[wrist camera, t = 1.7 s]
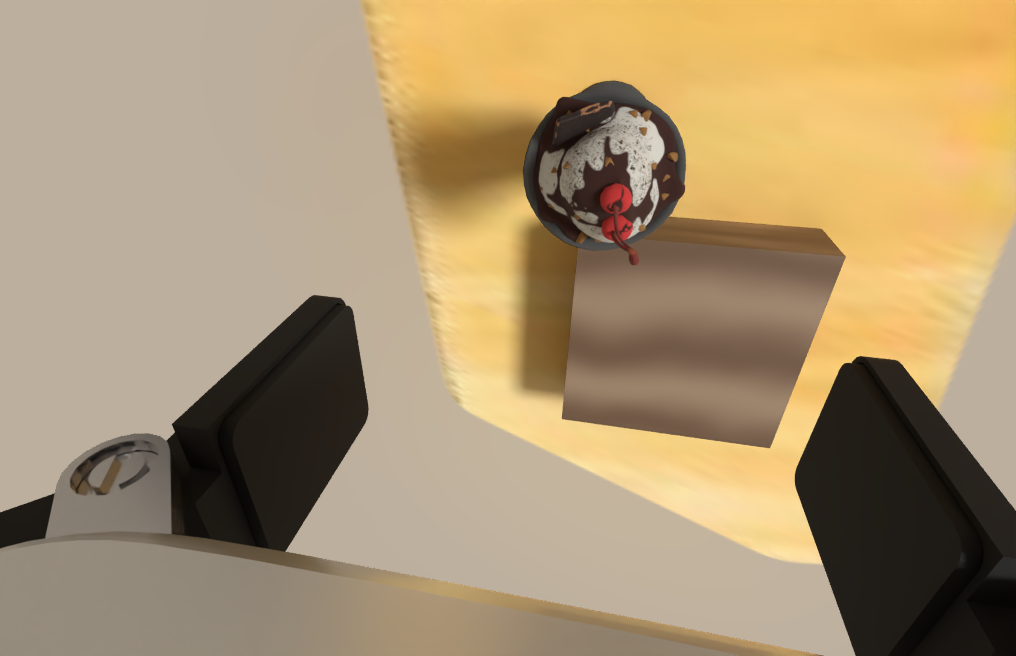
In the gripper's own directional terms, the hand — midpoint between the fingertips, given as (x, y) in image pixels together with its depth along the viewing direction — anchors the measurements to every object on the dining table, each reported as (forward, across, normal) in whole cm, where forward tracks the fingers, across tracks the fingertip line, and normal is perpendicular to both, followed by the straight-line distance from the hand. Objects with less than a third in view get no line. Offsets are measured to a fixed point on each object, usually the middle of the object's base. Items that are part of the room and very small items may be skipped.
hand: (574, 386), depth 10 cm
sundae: (+24, 0, 0) cm, 24 cm away
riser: (+24, -6, +12) cm, 27 cm away
